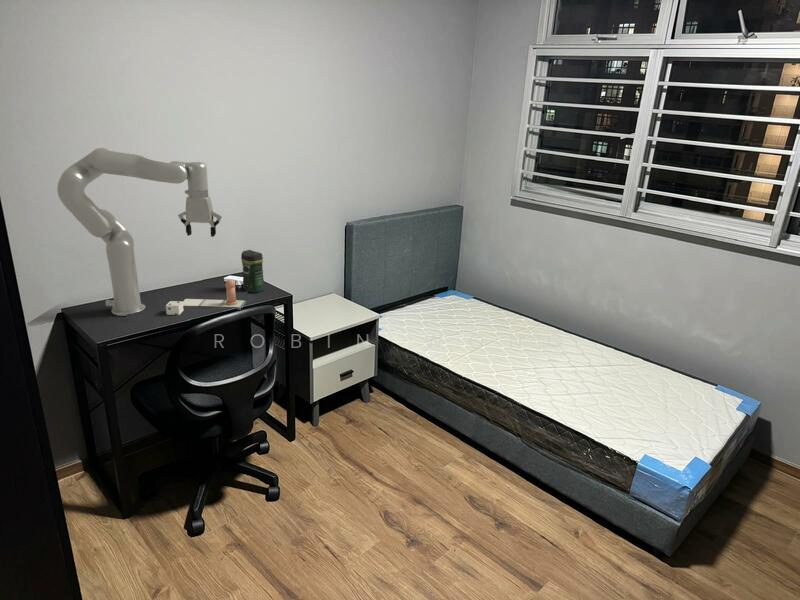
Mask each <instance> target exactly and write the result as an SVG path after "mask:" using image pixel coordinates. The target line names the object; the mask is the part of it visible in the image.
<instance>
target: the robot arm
mask: <svg viewBox="0 0 800 600" xmlns="http://www.w3.org/2000/svg"><path fill="white" fill-rule="evenodd" d="M207 169H208V168H207V164H206V163H204V162H200V161H192V162H185V161H180V160H179V161H178V160H177V161H175V160H173V161H170V162H166V161H159V160H158V161H157V160H153V159H149V158H147V157H144V156H142V155H139V154H135V153H126V152H119V151H113V150H109V149H108V148H104V147H99V148H95V149H94V150H93V151H91V152H89V153H88V154H87V155H86V156H84V157H82V158H80V159H79V160H77V162H75V163H73V164H72V165H70V166H69V167H67V169H65V170H64V171H63V172H62V174H61V176H60V177H59V180H58V183H57V189H56V191H57V195H58V198H59V200H60V202H61V203H62V204H63V206H64V207H65V208H66V210H68V211H69V212H70V214H71V215H72V216H73V217H74V218H75V219H76V220H77V221H78V222H79V223H80V224H81V225H82V226H83V227H84V229H86V230H87V232H88V233H90V234H91V235H92V236H93V237H96V238H101V240H102V241H103V242H104V243H106V246H105V251H106V259H107V262H108V268H109V275H110V281H111V287H112V288H111V289H112V292H113V293H112V295H113V300H110V299H106V300H105V306H106V307H111V313H112V314H113V315H115V316H118V317H119V316H120V317H124V316H125V317H126V316H128V315H129V314H130V315H131V314H135V313H140V312H141V311H143V310H145V309H146V305H145V304H143V303H142V301H141V294H140V288H139V281H138V280H139V279H138V272H137V265H136V259H135V249H134V248H135V247H134V243H135V240H134V238H133V236H132V235H131V233H130V232H129V231H128V229H126V227H124V226H123V225H122V223H121V222H120V221H119V220H118V219H117V218H116V217H115V216H114V215H113V214H112V213H111V212H110V211H108V210H106V209H102V208H99V207H98V206H97V205H96V204H95V202H94V201H93V200H92V199H91V198H90V197H89V196H88V195H86V193H85V189H86V187H87V186H88V185H89V184H90V183H92V182H93V181H94V180H96V179H98V178H99V177H101V176H102V175H104V174H106V175H107V174H108V175H114V176H122V177H129V178H130V177H131V178H136V179H141V180H149V181H153V182H159V183H167V184H181V183H183V182H185V181H186V180H187V189H186V190H184V193H185V194H186V195H187V196H186V199H185V211H183V212H180V213H179V214H178V215H177V216H178V218H179V220H180V222H181V223H182V224H183V225H184V226H185V233H186V234H187V235H186V236H187V237H188V236H191V235H192V234H193V233H192V232H193V231H192V225H191V224H192V223H195V224H196V223H199V224H209V225H210V229H209V230H210V237H212V238H213V237H215V236H216V234H217V229H216V227H217V225H218V224H220V222H221V220H222V215H220V214H218V213H216V212H214V210H213V208H214V207H213V204H212V203H213V202H212V200H211V196H209V184H208V182H209V181H208V171H207ZM214 218H216V220H215V221H214Z"/></svg>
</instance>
